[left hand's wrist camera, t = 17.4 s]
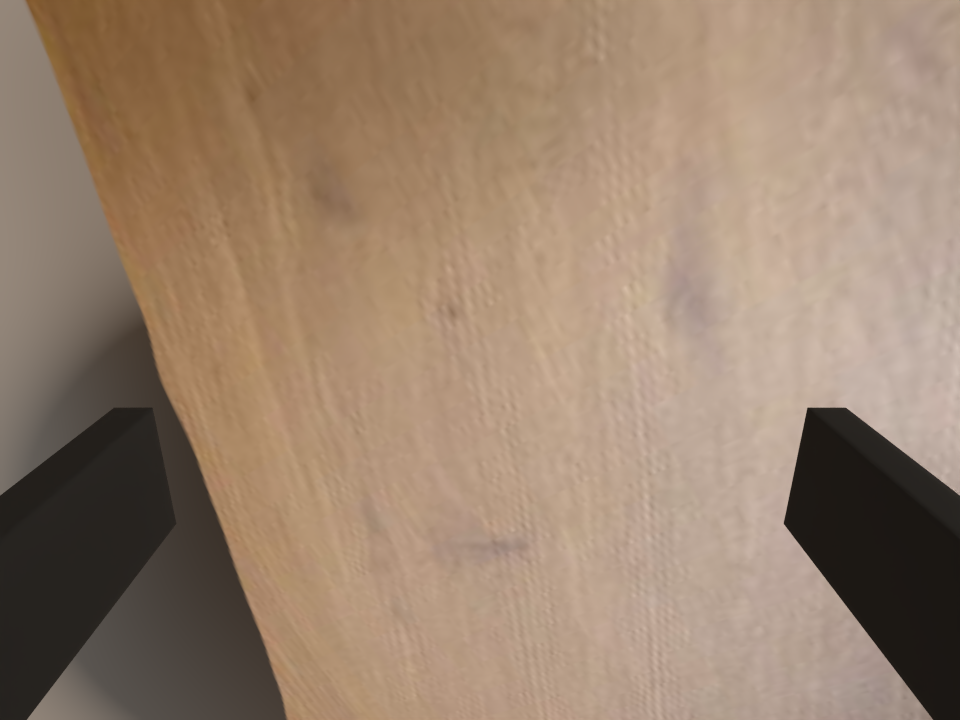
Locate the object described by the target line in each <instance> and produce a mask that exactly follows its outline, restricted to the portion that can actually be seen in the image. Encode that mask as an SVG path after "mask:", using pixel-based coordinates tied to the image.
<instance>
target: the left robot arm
mask: <svg viewBox="0 0 960 720" xmlns="http://www.w3.org/2000/svg"><path fill="white" fill-rule="evenodd" d="M175 525H176V520H175V515H174V511H173V506H172V501H171V496H170V491H169V486H168V481H167V476H166V472H165V467H164V462H163V457H162V452H161V447H160V442H159V437H158V433H157V428H156V423H155V418H154V413H153V408H113V409H112V410H111V411H109V412H108V413H107V414H106V415H104V416H103V417H102V418H100V419H99V420H98V421H96V422H95V423H94V424H93V425H91V426H90V427H89V428H87V429H86V430H85V431H84V432H82V433H81V434H80V435H78V436H77V437H76V438H74V439H73V440H72V441H71V442H69V443H68V444H67V445H65V446H64V447H63V448H61V449H60V450H59V451H58V452H56V453H55V454H54V455H52V456H51V457H50V458H48V459H47V460H46V461H45V462H43V463H42V464H41V465H39V466H38V467H37V468H36V469H34V470H33V471H32V472H30V473H29V474H28V475H26V476H25V477H24V478H23V479H21V480H20V481H19V482H17V483H16V484H15V485H13V486H12V487H11V488H10V489H8V490H7V491H6V492H4V493H3V494H2V495H1V496H0V720H27V719H28V717H29V716H30V715H31V713H32V712H33V711H34V709H35V708H36V707H37V705H38V704H39V703H40V702H41V700H42V699H43V698H44V696H45V695H46V694H47V692H48V691H49V690H50V688H51V687H52V686H53V684H54V683H55V682H56V681H57V679H58V678H59V677H60V675H61V674H62V673H63V671H64V670H65V669H66V667H67V666H68V665H69V663H70V662H71V661H72V660H73V658H74V657H75V656H76V654H77V653H78V652H79V650H80V649H81V648H82V646H83V645H84V644H85V643H86V641H87V640H88V639H89V637H90V636H91V635H92V633H93V632H94V631H95V629H96V628H97V627H98V626H99V624H100V623H101V622H102V620H103V619H104V618H105V616H106V615H107V614H108V612H109V611H110V610H111V608H112V607H113V606H114V605H115V603H116V602H117V601H118V599H119V598H120V597H121V595H122V594H123V593H124V591H125V590H126V589H127V588H128V586H129V585H130V584H131V582H132V581H133V580H134V578H135V577H136V576H137V574H138V573H139V572H140V570H141V569H142V568H143V567H144V565H145V564H146V563H147V561H148V560H149V559H150V557H151V556H152V555H153V553H154V552H155V551H156V549H157V548H158V547H159V546H160V544H161V543H162V542H163V540H164V539H165V538H166V536H167V535H168V534H169V532H170V531H171V530H172V529H173V527H174V526H175ZM784 525H785V526H786V527H787V529H788V530H789V531H790V532H791V534H792V535H793V536H794V538H795V539H796V540H797V542H798V543H799V544H800V546H801V547H802V548H803V550H804V551H805V552H806V553H807V555H808V556H809V557H810V559H811V560H812V561H813V563H814V564H815V565H816V567H817V568H818V569H819V570H820V572H821V573H822V574H823V576H824V577H825V578H826V580H827V581H828V582H829V584H830V585H831V586H832V588H833V589H834V590H835V591H836V593H837V594H838V595H839V597H840V598H841V599H842V601H843V602H844V603H845V605H846V606H847V607H848V608H849V610H850V611H851V612H852V614H853V615H854V616H855V618H856V619H857V620H858V622H859V623H860V624H861V626H862V627H863V628H864V629H865V631H866V632H867V633H868V635H869V636H870V637H871V639H872V640H873V641H874V643H875V644H876V645H877V647H878V648H879V649H880V650H881V652H882V653H883V654H884V656H885V657H886V658H887V660H888V661H889V662H890V664H891V665H892V666H893V667H894V669H895V670H896V671H897V673H898V674H899V675H900V677H901V678H902V679H903V681H904V682H905V683H906V685H907V686H908V687H909V688H910V690H911V691H912V692H913V694H914V695H915V696H916V698H917V699H918V700H919V702H920V703H921V704H922V705H923V707H924V708H925V709H926V711H927V712H928V713H929V715H930V716H931V717H932V719H933V720H960V495H958V494H957V493H956V492H954V491H953V490H952V489H950V488H949V487H948V486H947V485H945V484H944V483H943V482H941V481H940V480H939V479H937V478H936V477H935V476H934V475H932V474H931V473H930V472H928V471H927V470H926V469H925V468H923V467H922V466H921V465H919V464H918V463H917V462H915V461H914V460H913V459H912V458H910V457H909V456H908V455H906V454H905V453H904V452H902V451H901V450H900V449H899V448H897V447H896V446H895V445H893V444H892V443H891V442H890V441H888V440H887V439H886V438H884V437H883V436H882V435H880V434H879V433H878V432H877V431H875V430H874V429H873V428H871V427H870V426H869V425H867V424H866V423H865V422H864V421H862V420H861V419H860V418H858V417H857V416H856V415H855V414H853V413H852V412H851V411H849V410H848V409H847V408H807V413H806V418H805V423H804V428H803V432H802V437H801V442H800V447H799V452H798V457H797V462H796V467H795V472H794V476H793V481H792V486H791V491H790V496H789V501H788V506H787V511H786V515H785V520H784Z"/></svg>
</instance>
